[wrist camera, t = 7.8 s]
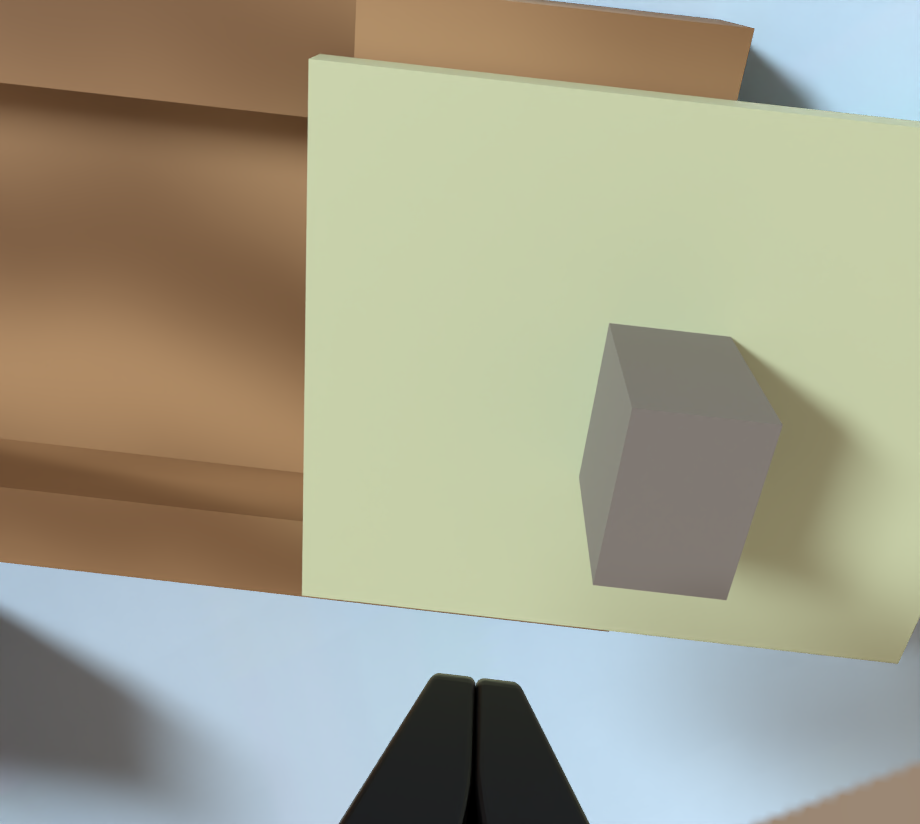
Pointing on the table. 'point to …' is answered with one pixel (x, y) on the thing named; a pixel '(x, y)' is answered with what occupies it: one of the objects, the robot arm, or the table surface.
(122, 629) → the table surface
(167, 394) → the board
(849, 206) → the cover
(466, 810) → the robot arm
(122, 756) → the table surface
